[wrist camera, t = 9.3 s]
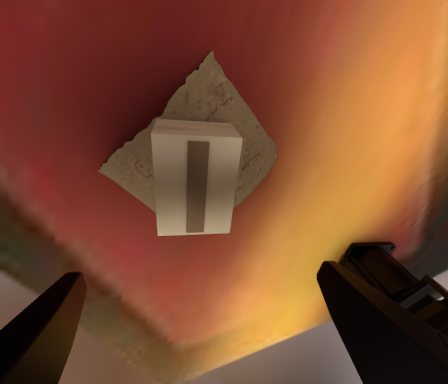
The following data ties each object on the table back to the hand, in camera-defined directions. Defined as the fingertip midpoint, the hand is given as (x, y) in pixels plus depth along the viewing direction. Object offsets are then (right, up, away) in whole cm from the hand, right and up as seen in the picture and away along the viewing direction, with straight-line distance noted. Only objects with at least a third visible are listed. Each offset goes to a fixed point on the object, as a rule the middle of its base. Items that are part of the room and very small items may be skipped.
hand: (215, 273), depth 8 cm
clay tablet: (-2, +6, +11) cm, 13 cm away
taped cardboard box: (-2, +5, +9) cm, 10 cm away
